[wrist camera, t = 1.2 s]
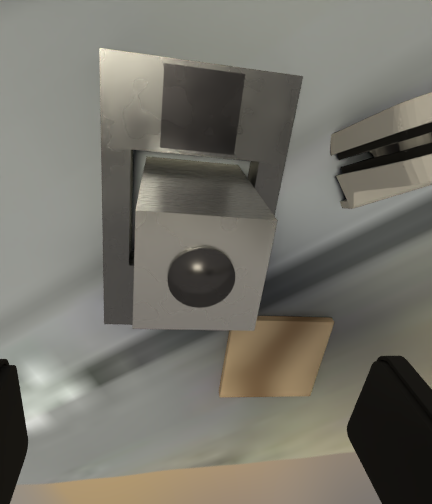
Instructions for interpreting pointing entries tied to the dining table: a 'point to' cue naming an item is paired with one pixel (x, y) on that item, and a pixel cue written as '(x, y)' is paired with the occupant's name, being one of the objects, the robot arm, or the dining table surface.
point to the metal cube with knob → (199, 247)
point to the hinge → (387, 153)
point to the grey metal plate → (182, 138)
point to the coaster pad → (275, 357)
